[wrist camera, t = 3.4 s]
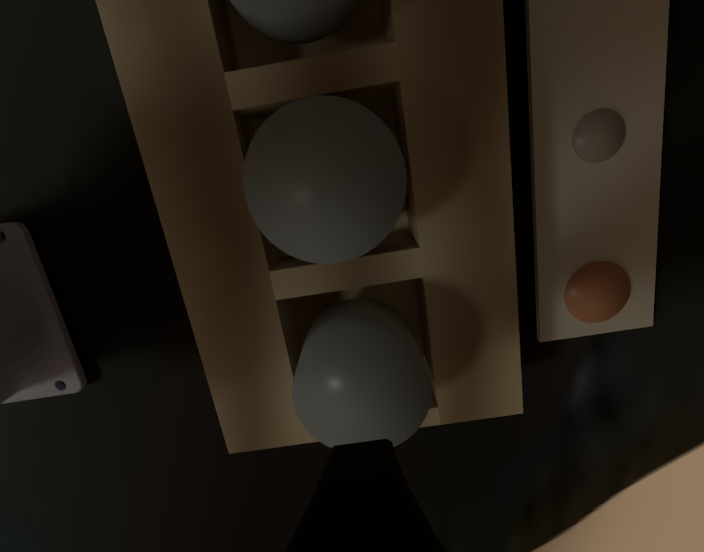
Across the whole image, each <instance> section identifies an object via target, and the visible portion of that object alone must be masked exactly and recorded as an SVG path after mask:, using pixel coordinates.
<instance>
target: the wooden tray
mask: <svg viewBox="0 0 704 552" xmlns="http://www.w3.org/2000/svg"><path fill="white" fill-rule="evenodd" d="M96 4H97V7H98V10H99V14H100V17H101V21H102V24H103V27H104V31H105V34H106V38H107V41H108V44H109V48H110V51H111V55H112V58H113V61H114V65H115V68H116V71H117V75H118V78H119V82H120V85H121V88H122V92H123V95H124V99H125V102H126V105H127V109H128V112H129V116H130V119H131V122H132V126H133V129H134V133H135V136H136V139H137V143H138V146H139V150H140V153H141V156H142V160H143V163H144V167H145V170H146V173H147V177H148V180H149V184H150V187H151V190H152V194H153V197H154V200H155V204H156V207H157V211H158V214H159V217H160V221H161V224H162V228H163V231H164V234H165V238H166V241H167V245H168V248H169V251H170V255H171V258H172V262H173V265H174V268H175V272H176V275H177V279H178V282H179V285H180V289H181V292H182V296H183V299H184V302H185V306H186V309H187V313H188V316H189V319H190V323H191V326H192V330H193V333H194V336H195V340H196V343H197V346H198V350H199V353H200V357H201V360H202V363H203V367H204V370H205V374H206V377H207V380H208V384H209V387H210V391H211V394H212V397H213V401H214V404H215V408H216V411H217V414H218V418H219V421H220V425H221V428H222V431H223V435H224V438H225V442H226V445H227V448H228V452H229V454H231V453H238V452H245V451H253V450H260V449H267V448H274V447H282V446H289V445H296V444H304V443H311V442H318V440H317V439H315V438H314V437H313V436H312V435H311V434H310V433H309V432H308V431H307V430H306V429H305V428H304V427H303V425H302V423H301V422H300V420H299V419H298V416H297V414H296V412H295V409H294V406H293V400H292V384H293V379H294V375H295V372H296V368H297V365H298V361H299V358H300V354H301V351H302V347H303V344H304V340H305V337H306V333H307V331H308V329H309V327H310V325H311V324H312V322H313V320H314V319H315V318H316V317H317V316H318V315H319V314H320V313H321V312H322V311H323V310H325V309H326V308H327V307H329V306H331V305H333V304H335V303H337V302H340V301H342V300H346V299H351V298H369V299H375V300H378V301H381V302H384V303H386V304H388V305H390V306H392V307H393V308H395V309H396V310H397V311H399V312H400V313H401V314H402V315H403V316H404V317H405V319H406V320H407V321H408V323H409V324H410V326H411V328H412V330H413V333H414V335H415V338H416V340H417V343H418V346H419V348H420V351H421V353H422V356H423V359H424V361H425V364H426V367H427V369H428V372H429V375H430V378H431V383H432V400H431V404H430V408H429V411H428V413H427V416H426V418H425V419H424V421H423V423H422V424H421V426H420V427H427V426H434V425H442V424H449V423H456V422H463V421H471V420H478V419H485V418H492V417H500V416H507V415H514V414H521V413H523V400H522V380H521V360H520V339H519V319H518V299H517V279H516V258H515V238H514V218H513V198H512V178H511V157H510V137H509V117H508V97H507V77H506V56H505V36H504V16H503V0H358V2H357V4H356V6H355V8H354V10H353V11H352V13H351V14H350V16H349V17H348V18H347V20H346V21H345V22H344V23H343V24H342V25H341V26H340V27H339V28H338V29H336V30H335V31H334V32H333V33H331V34H330V35H328V36H326V37H325V38H322V39H320V40H318V41H315V42H311V43H307V44H286V43H281V42H278V41H275V40H272V39H270V38H268V37H266V36H264V35H262V34H260V33H259V32H257V31H256V30H255V29H253V28H252V27H251V26H250V25H249V24H248V23H247V22H246V21H245V20H244V19H243V18H242V17H241V15H240V14H239V13H238V11H237V10H236V9H235V7H234V6H233V4H232V3H231V1H230V0H96ZM319 95H324V96H336V97H341V98H345V99H348V100H351V101H354V102H356V103H358V104H360V105H362V106H364V107H366V108H367V109H369V110H370V111H372V112H373V113H374V114H375V115H377V116H378V117H379V118H380V119H381V120H382V121H383V122H384V123H385V124H386V126H387V127H388V128H389V129H390V131H391V132H392V134H393V135H394V137H395V138H396V140H397V142H398V145H399V147H400V149H401V152H402V155H403V158H404V162H405V167H406V177H407V186H406V195H405V200H404V205H403V208H402V211H401V214H400V216H399V218H398V220H397V222H396V224H395V225H394V227H393V228H392V230H391V231H390V233H389V234H388V235H387V236H386V237H385V239H384V240H383V241H382V242H381V243H379V244H378V245H377V246H376V247H375V248H373V249H372V250H370V251H369V252H368V253H366V254H364V255H362V256H360V257H358V258H355V259H352V260H350V261H346V262H342V263H335V264H317V263H311V262H307V261H303V260H300V259H297V258H295V257H293V256H290V255H288V254H287V253H285V252H283V251H282V250H280V249H279V248H278V247H276V246H275V245H274V244H272V243H271V242H270V241H269V240H268V239H267V238H266V237H265V236H264V234H263V233H262V232H261V230H260V229H259V228H258V226H257V225H256V223H255V221H254V220H253V218H252V216H251V213H250V211H249V209H248V206H247V202H246V199H245V194H244V188H243V170H244V162H245V158H246V154H247V151H248V148H249V145H250V143H251V141H252V139H253V137H254V135H255V133H256V132H257V131H258V129H259V128H260V126H261V125H262V124H263V123H264V122H265V121H266V120H267V119H268V117H269V116H271V115H272V114H273V113H274V112H276V111H277V110H278V109H280V108H281V107H283V106H285V105H287V104H288V103H291V102H293V101H296V100H298V99H302V98H306V97H310V96H319ZM420 427H419V428H420Z"/></svg>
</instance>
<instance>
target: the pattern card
mask: <svg viewBox="0 0 704 552" xmlns="http://www.w3.org/2000/svg"><path fill="white" fill-rule="evenodd" d="M525 18H526V46H527V73H528V101H529V129H530V156H531V184H532V212H533V239H534V267H535V295H536V322H537V340H538V341H539V342H545V341H552V340H559V339H566V338H573V337H580V336H586V335H593V334H600V333H607V332H614V331H621V330H628V329H635V328H642V327H648V326H653V314H654V294H655V274H656V255H657V235H658V215H659V196H660V176H661V156H662V137H663V117H664V97H665V78H666V58H667V38H668V19H669V0H525Z"/></svg>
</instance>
